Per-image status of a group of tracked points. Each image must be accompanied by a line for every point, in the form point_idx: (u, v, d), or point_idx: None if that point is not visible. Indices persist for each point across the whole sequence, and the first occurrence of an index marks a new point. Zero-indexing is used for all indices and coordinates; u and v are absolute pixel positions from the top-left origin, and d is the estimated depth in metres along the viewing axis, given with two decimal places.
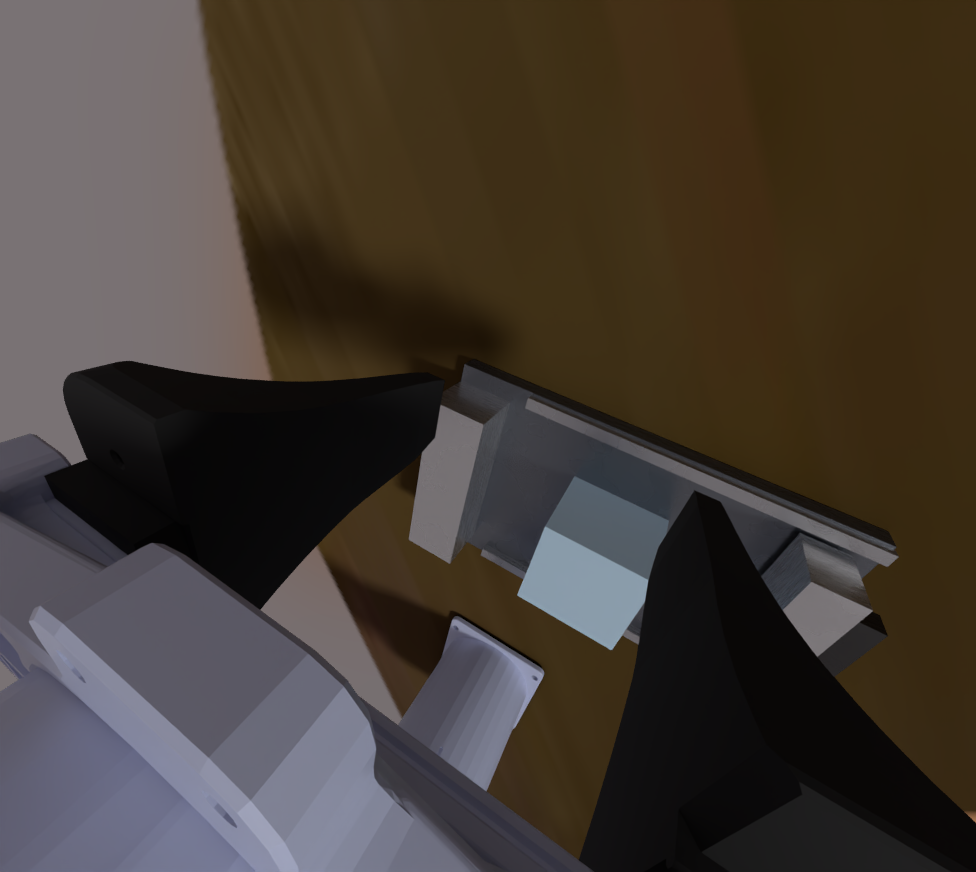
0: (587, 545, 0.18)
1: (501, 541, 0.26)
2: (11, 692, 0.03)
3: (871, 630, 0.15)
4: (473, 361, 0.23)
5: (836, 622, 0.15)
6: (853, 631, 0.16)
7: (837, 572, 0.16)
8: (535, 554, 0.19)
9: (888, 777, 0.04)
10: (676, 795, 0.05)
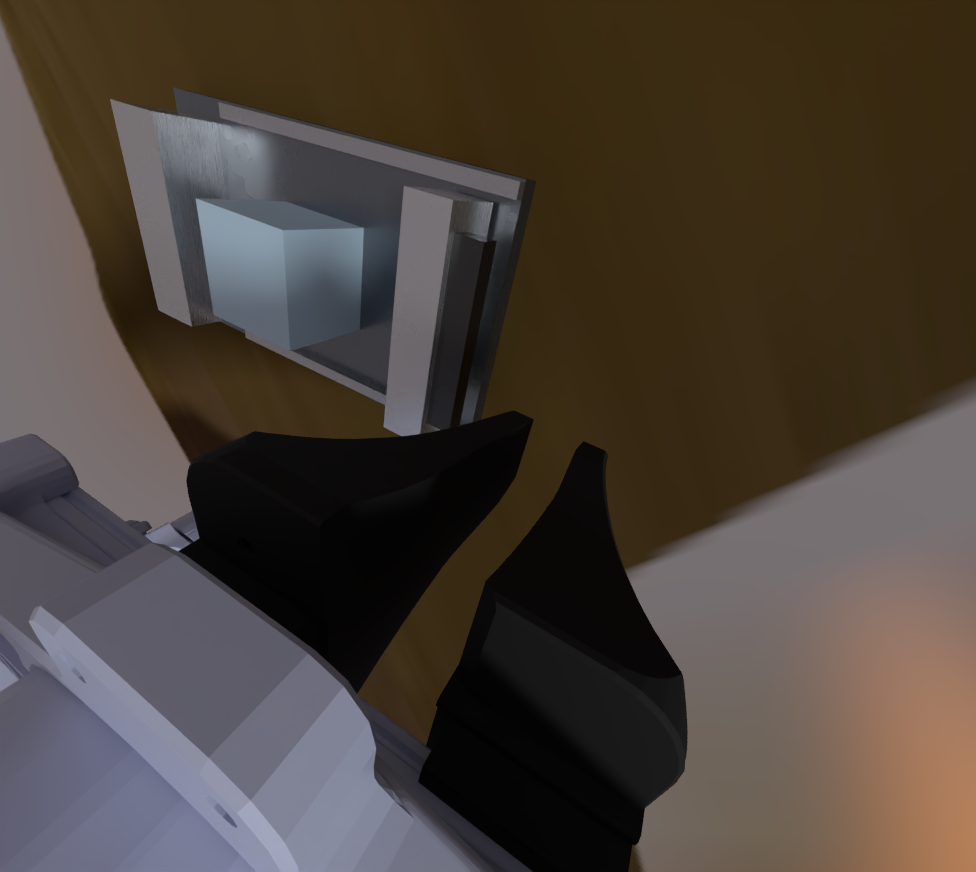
0: (232, 210, 0.17)
1: None
2: (12, 692, 0.03)
3: (471, 242, 0.14)
4: (189, 91, 0.22)
5: (436, 234, 0.15)
6: (461, 250, 0.15)
7: (452, 195, 0.15)
8: (203, 245, 0.18)
9: (602, 618, 0.05)
10: None
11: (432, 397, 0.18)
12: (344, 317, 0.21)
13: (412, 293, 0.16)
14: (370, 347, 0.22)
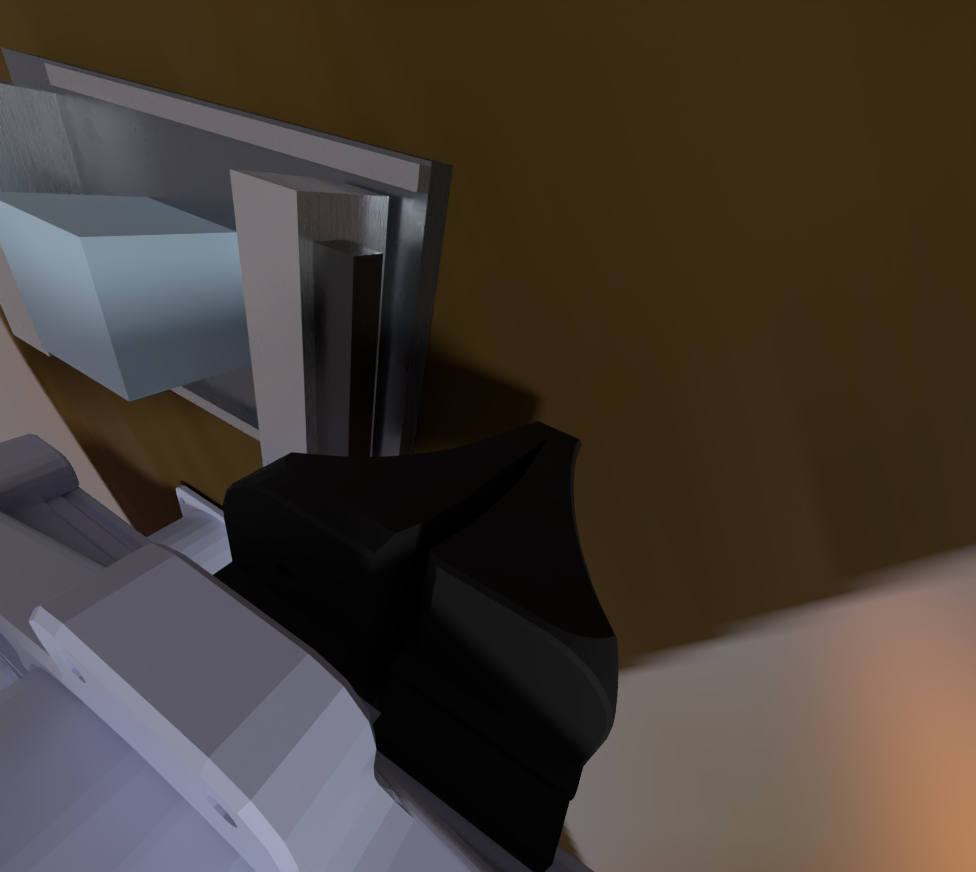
0: (23, 207, 0.12)
1: None
2: (12, 692, 0.03)
3: (337, 256, 0.09)
4: (27, 53, 0.17)
5: (283, 244, 0.09)
6: (324, 268, 0.10)
7: (317, 185, 0.10)
8: (6, 256, 0.13)
9: (545, 586, 0.05)
10: None
11: None
12: (223, 350, 0.16)
13: (268, 329, 0.11)
14: None
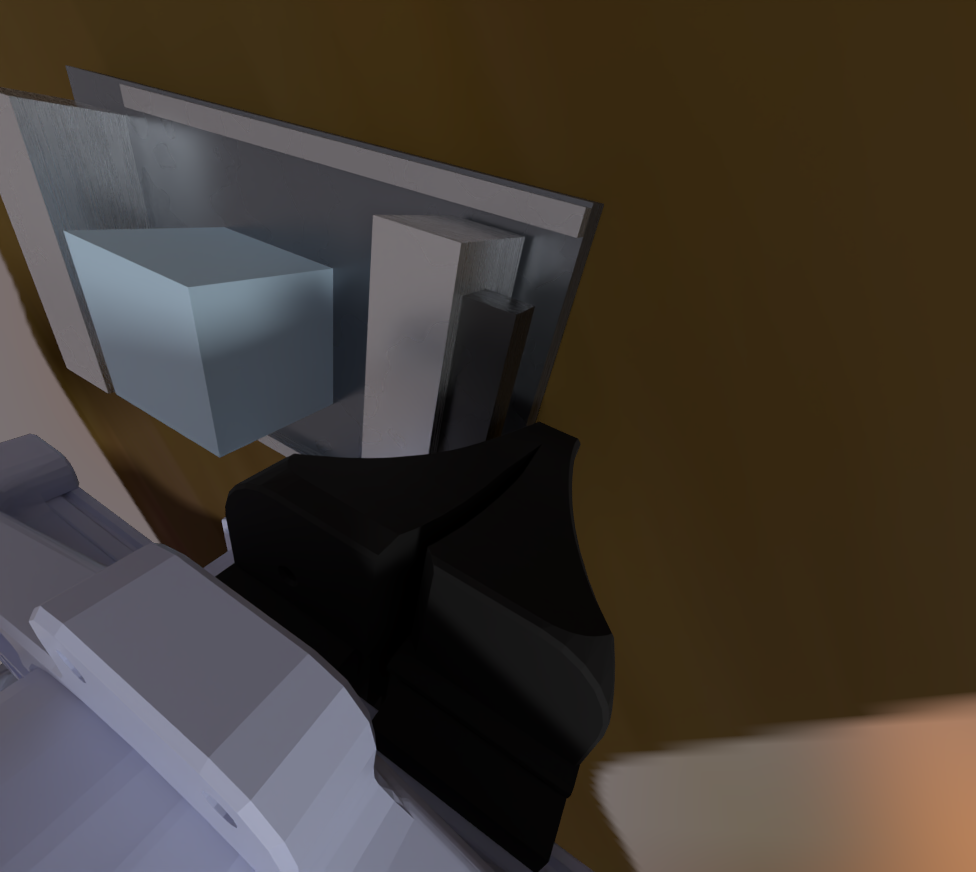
0: (115, 250, 0.11)
1: None
2: (12, 692, 0.03)
3: (494, 313, 0.08)
4: (91, 71, 0.15)
5: (431, 299, 0.08)
6: (474, 325, 0.08)
7: (459, 229, 0.09)
8: (86, 299, 0.12)
9: (542, 583, 0.05)
10: None
11: None
12: (308, 393, 0.15)
13: (392, 387, 0.10)
14: (348, 427, 0.16)
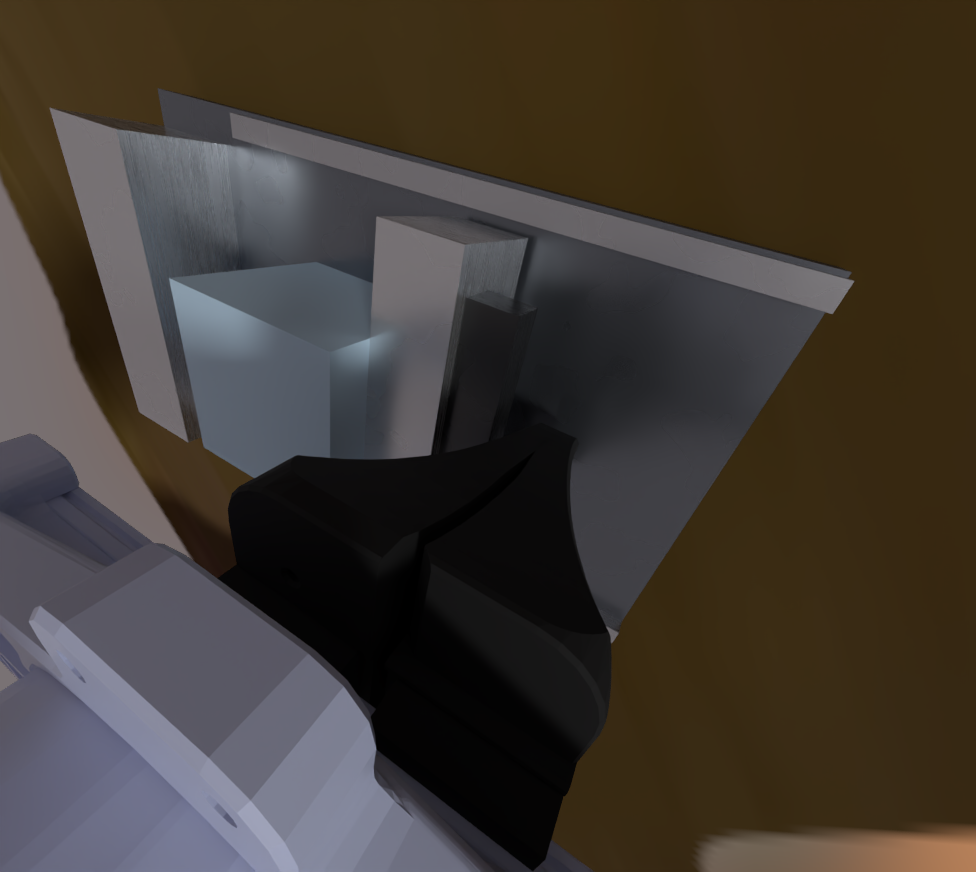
0: (233, 303, 0.09)
1: None
2: (12, 692, 0.03)
3: (496, 314, 0.08)
4: (183, 94, 0.14)
5: (434, 301, 0.08)
6: (477, 326, 0.08)
7: (462, 229, 0.09)
8: (185, 350, 0.11)
9: (540, 582, 0.05)
10: None
11: None
12: None
13: (395, 388, 0.10)
14: None
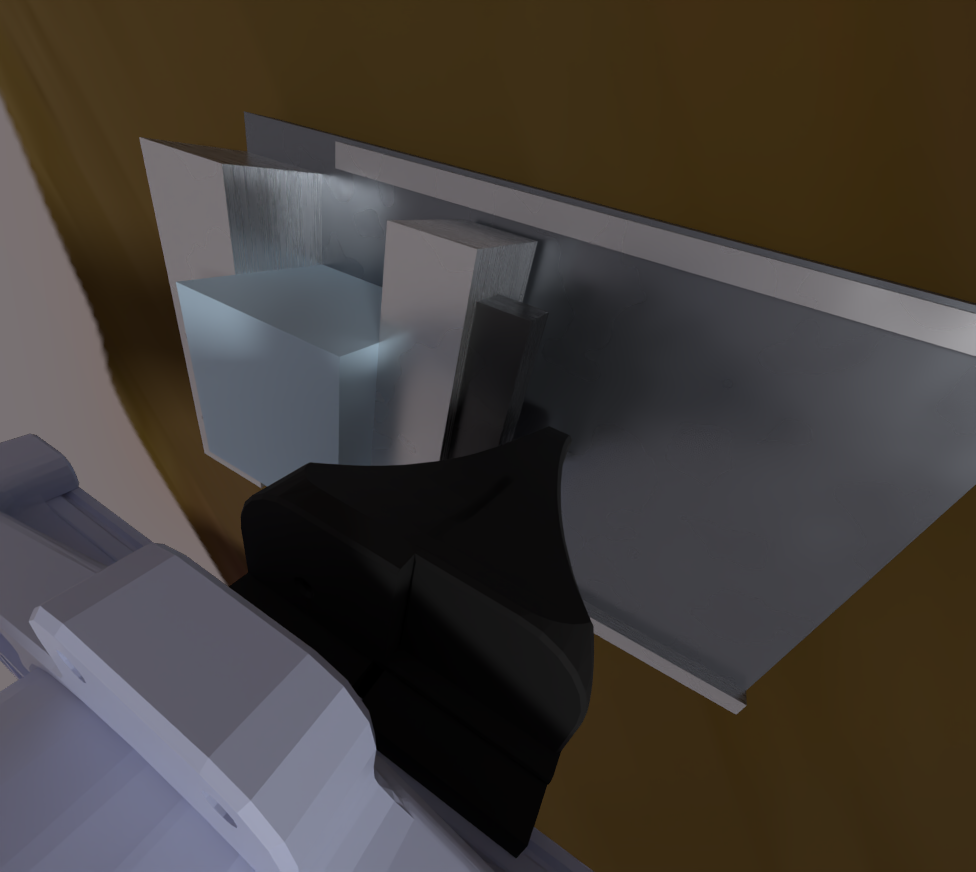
0: (241, 306, 0.09)
1: None
2: (12, 692, 0.03)
3: (508, 319, 0.08)
4: (268, 117, 0.13)
5: (445, 305, 0.08)
6: (488, 331, 0.08)
7: (473, 233, 0.09)
8: (192, 354, 0.11)
9: (524, 574, 0.05)
10: None
11: None
12: None
13: (403, 392, 0.10)
14: None
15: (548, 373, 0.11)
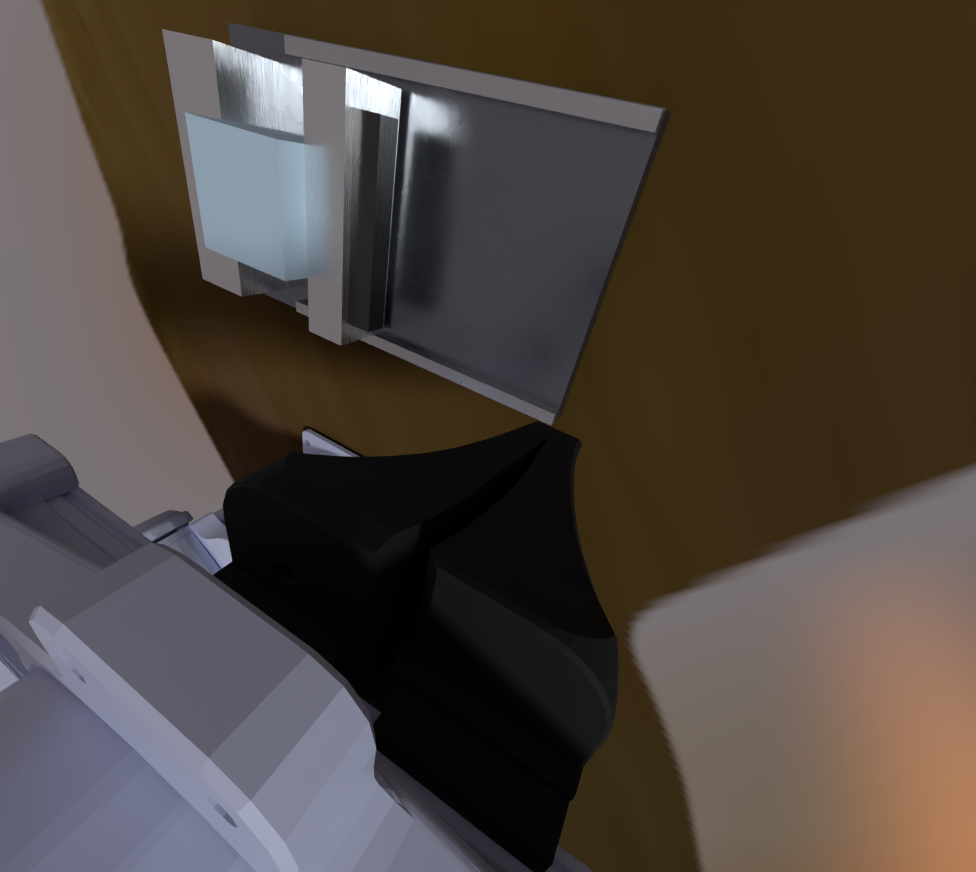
0: (223, 123, 0.16)
1: None
2: (13, 692, 0.03)
3: (369, 115, 0.15)
4: None
5: (335, 108, 0.15)
6: (360, 125, 0.15)
7: None
8: (194, 166, 0.17)
9: (545, 586, 0.05)
10: None
11: (350, 294, 0.18)
12: None
13: (320, 177, 0.16)
14: (444, 318, 0.20)
15: (420, 186, 0.18)
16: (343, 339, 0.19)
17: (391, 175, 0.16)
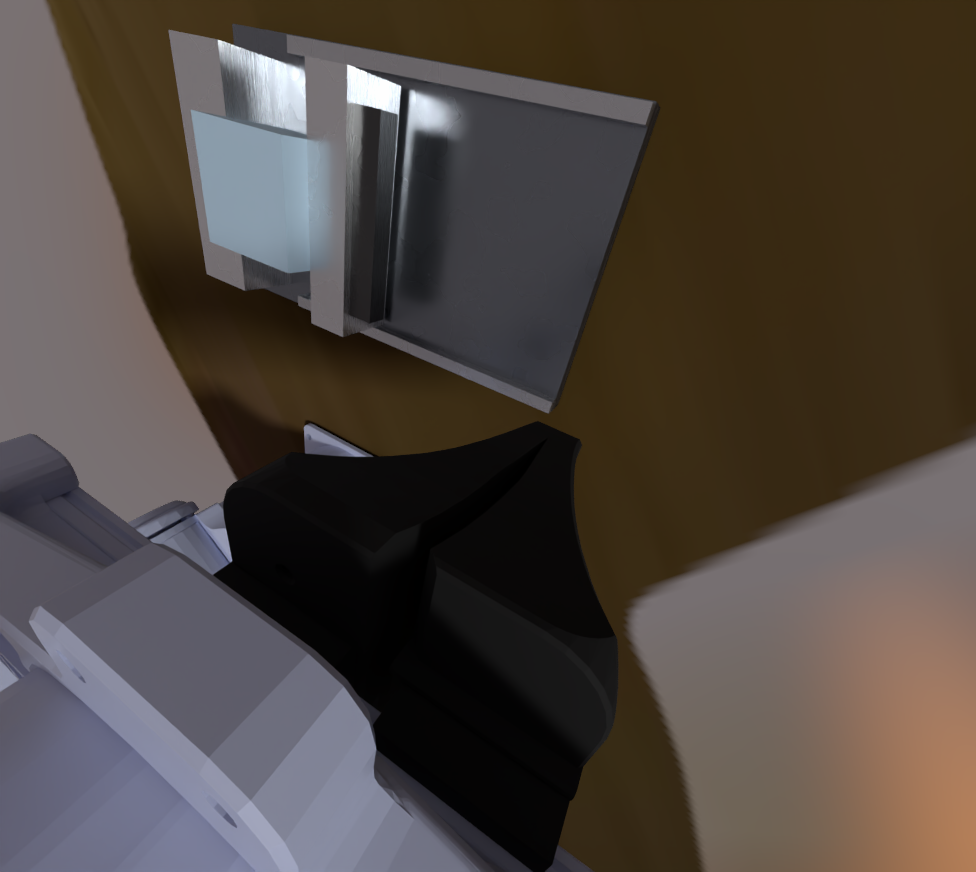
0: (228, 119, 0.16)
1: None
2: (13, 692, 0.03)
3: (370, 110, 0.15)
4: None
5: (336, 104, 0.15)
6: (361, 121, 0.15)
7: None
8: (199, 162, 0.18)
9: (545, 586, 0.05)
10: None
11: (352, 286, 0.19)
12: None
13: (322, 172, 0.17)
14: (443, 310, 0.21)
15: (419, 181, 0.18)
16: (345, 331, 0.20)
17: (391, 169, 0.17)
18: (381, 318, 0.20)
